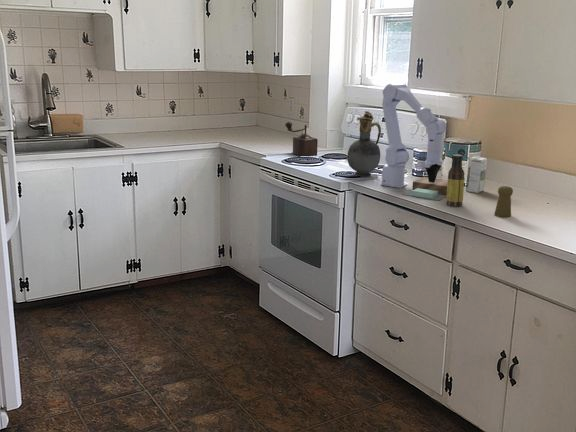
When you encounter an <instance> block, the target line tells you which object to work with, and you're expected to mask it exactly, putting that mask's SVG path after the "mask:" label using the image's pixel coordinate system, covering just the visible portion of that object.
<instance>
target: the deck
mask: <svg viewBox="0 0 576 432" xmlns="http://www.w3.org/2000/svg"><path fill="white" fill-rule="evenodd" d="M447 185H448V179H440V178H436V180H435V182H434V183H432V182H429V180H428V176H427V177H425V176H423V177H421V178H418V179H416V180H413V181H412V189H411V190H415V189H417V188H420V189H427V190H434V191H438V194H440V195H446V197H447Z"/></svg>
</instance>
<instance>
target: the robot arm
mask: <svg viewBox="0 0 576 432" xmlns="http://www.w3.org/2000/svg"><path fill="white" fill-rule="evenodd" d="M382 96H383V97H382V98H383V99H382V104H381V105H382V106H381V107H382V110H383V111H382V112H383V118H384V123H385V130H386V135H387V139H388V146H387V147H386V149H385V157H384V159H385V162H386V164H384V165H383V166H382V170H381V181H380V186H385V187H391V188H392V187H393V188H399V189H400V188H403V187H406V186H407V185H408V183H405V173H406V165H407V163H408V161H409V160H410V154H409V152H408V150H407V147H406V145H405V144H404V143H403V142H402V139H401V138H402V137H401V131H400V125H399V118H398V115H397V114H398V113H397V112H398V111H397V106H398V104H399V103H400V102H401V101H404V102H405V103H406V104H407V105H408V106H409V107H410V108H411V109H412V110H413V111H414V112H415V113H416V118H417V119H418V120H419V121H420V123H421V124H423V126H424V127H425V131H426V133H427V150H426V159H425V162H424V166H423V167H424V168H425V170H426V173H427V177H428V180H429V182H432V183H434V182H435V180H436V179H437V175H438V173H439V171H440V170H441V167H442V164H443V163H444V161H443V158H442V146H443V138H444V137H443V135H444V133H445V132H446V130H447V126H446V123H445V122H444V120H442V119H439V118H438V117H437V116H436V115H434V113H432V109H431V108H430V107H425V106H423V105H422V104H421V103H420V101H419V100H418V99H417V98H416V97H415V95H414V94H413V93H412V91H411V88H409V86H407V84H406V83H403V82H401V83H388V84H387V85H385V87H384V88H383V90H382ZM440 164H441V165H440Z"/></svg>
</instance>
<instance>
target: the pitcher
mask: <svg viewBox="0 0 576 432" xmlns="http://www.w3.org/2000/svg"><path fill="white" fill-rule="evenodd" d="M373 120H374V115H373V114H372V112H370V111H369V110H368V111H367V110H366V111H364V112H363V116H360V117H358V116H357V117H356V121H359V139H358V140H356V141H354V142H353V143H351V144H350V145H349V147H348V151H347V155H346V157H347V158H346V159H347V163H348V167H350V168H351V169H352V170H353V171H354V172H355V173H354V176H355V175H357V176H356V177H358V176H360V178H361V177H362V178H367V176H368V177H371V176H372V173H371V172H373V171H375V170H376V169H377V168H378V166H379V164H380V161H381V149H380V147H379V145H378V144H379V141H380V137H381V134H382V127H381V125H380V123H379V122H377V121H373ZM374 126H376V127H377V130H378V133H377V139H376V142H375V141H372V140H371V132H372V128H373V127H374Z"/></svg>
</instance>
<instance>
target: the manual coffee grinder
mask: <svg viewBox="0 0 576 432" xmlns="http://www.w3.org/2000/svg"><path fill="white" fill-rule="evenodd" d="M285 127H286V128H287V131H288V132H290V133H299V132H301V134H300V135H299V136H295V137H294V136H292V152H291V153H292V155H294V156H297V155H298V156H297V157H300V156H307V157H317V156H318V138H316V137H312V136H310V135H309V134H308V133H307V129H308V128H307V124H304V127H303V128H301V129H300V128H299V129H298V130H293V128H292V127H293V122H290V121H288V122H287V121H286V123H285ZM303 131H304V133H302V132H303Z"/></svg>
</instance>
